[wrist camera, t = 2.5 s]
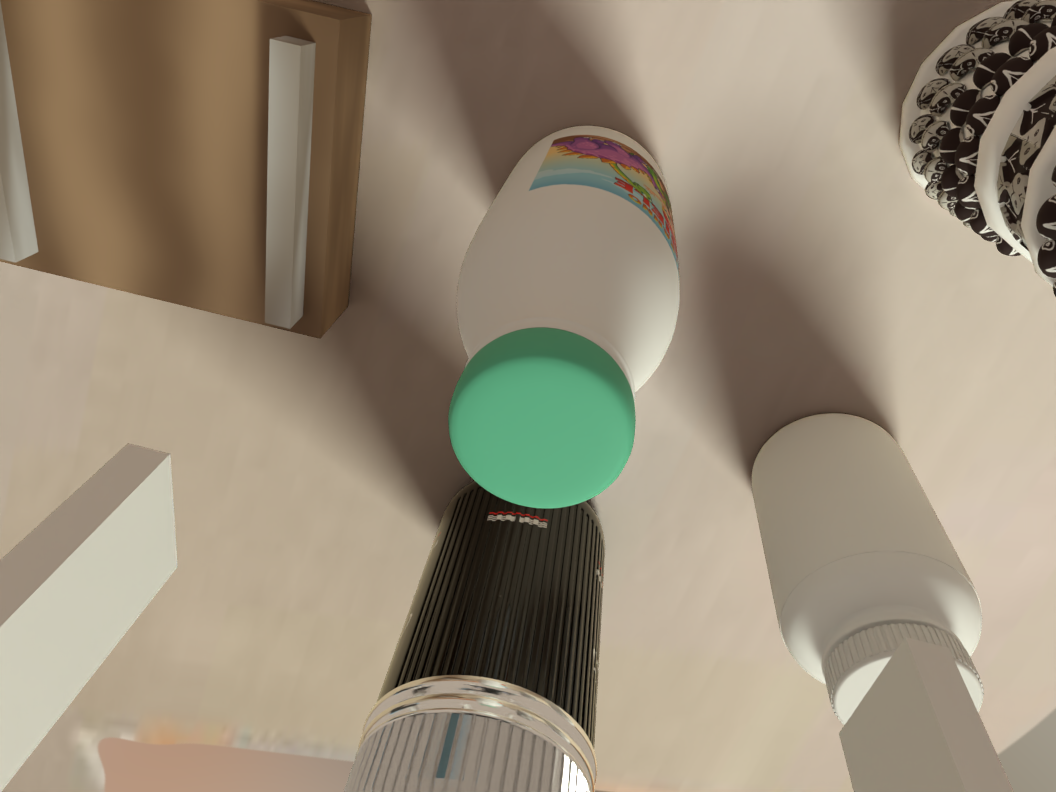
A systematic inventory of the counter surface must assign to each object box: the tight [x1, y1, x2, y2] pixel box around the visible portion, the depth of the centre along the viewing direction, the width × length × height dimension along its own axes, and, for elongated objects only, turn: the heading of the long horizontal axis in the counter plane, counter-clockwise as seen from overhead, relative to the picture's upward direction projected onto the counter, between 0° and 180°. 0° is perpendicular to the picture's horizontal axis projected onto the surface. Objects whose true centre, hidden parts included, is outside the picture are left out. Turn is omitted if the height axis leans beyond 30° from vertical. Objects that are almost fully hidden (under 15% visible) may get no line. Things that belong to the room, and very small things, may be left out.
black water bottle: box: [344, 481, 605, 792], centre depth 34 cm, size 10×10×25 cm
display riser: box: [0, 0, 372, 338], centre depth 33 cm, size 16×14×6 cm
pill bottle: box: [752, 413, 984, 725], centre depth 34 cm, size 8×8×15 cm
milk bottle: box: [448, 126, 680, 508], centre depth 26 cm, size 8×8×20 cm
